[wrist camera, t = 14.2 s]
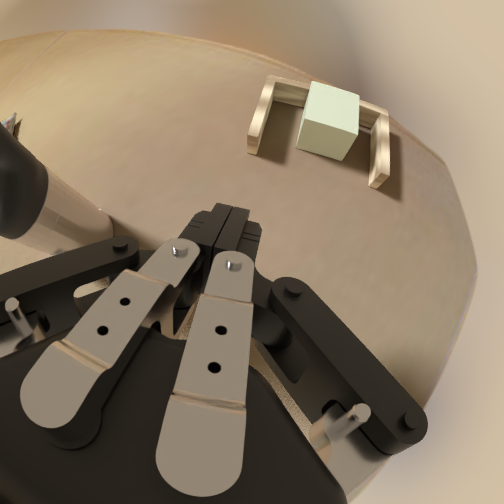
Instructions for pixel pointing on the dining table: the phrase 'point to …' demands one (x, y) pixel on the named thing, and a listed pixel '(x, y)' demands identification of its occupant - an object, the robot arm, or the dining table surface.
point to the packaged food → (10, 123)
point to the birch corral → (297, 96)
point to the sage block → (329, 121)
